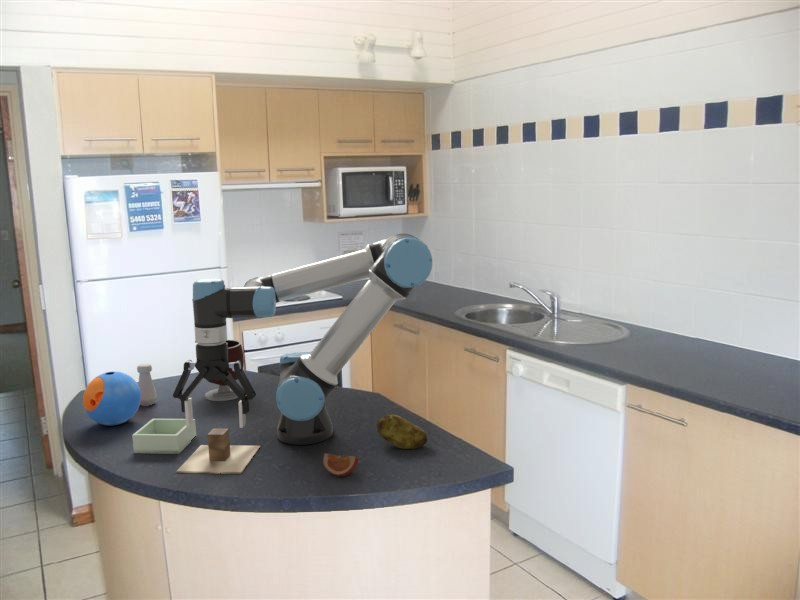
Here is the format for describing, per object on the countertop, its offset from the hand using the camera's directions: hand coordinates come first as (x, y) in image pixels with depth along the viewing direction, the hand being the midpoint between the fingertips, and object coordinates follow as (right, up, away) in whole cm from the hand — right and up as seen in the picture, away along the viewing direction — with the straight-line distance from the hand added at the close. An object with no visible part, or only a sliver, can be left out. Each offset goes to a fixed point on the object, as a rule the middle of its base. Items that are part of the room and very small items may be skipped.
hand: (216, 425), depth 166 cm
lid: (+1, -9, +2) cm, 10 cm away
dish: (-17, -7, +12) cm, 22 cm away
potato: (+46, -7, +8) cm, 47 cm away
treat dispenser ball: (-37, -5, +28) cm, 47 cm away
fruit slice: (+32, -10, -8) cm, 34 cm away
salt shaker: (-34, -2, +45) cm, 56 cm away
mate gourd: (-13, 0, +52) cm, 54 cm away
